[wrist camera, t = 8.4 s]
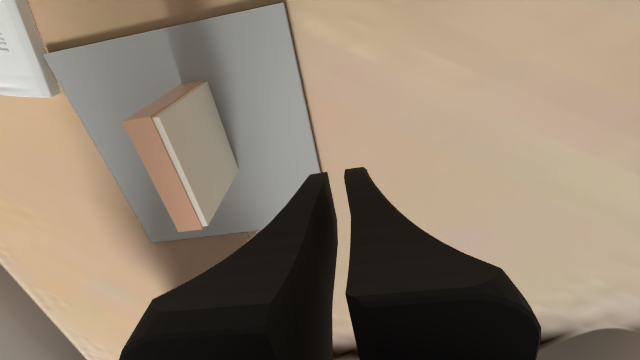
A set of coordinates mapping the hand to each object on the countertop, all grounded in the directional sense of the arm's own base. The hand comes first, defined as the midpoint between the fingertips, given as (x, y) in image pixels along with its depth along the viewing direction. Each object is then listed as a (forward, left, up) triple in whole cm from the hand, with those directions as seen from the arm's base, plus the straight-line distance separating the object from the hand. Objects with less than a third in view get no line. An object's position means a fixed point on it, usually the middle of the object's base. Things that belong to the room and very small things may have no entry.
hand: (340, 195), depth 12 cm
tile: (0, +8, -9) cm, 12 cm away
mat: (-1, +9, -9) cm, 13 cm away
